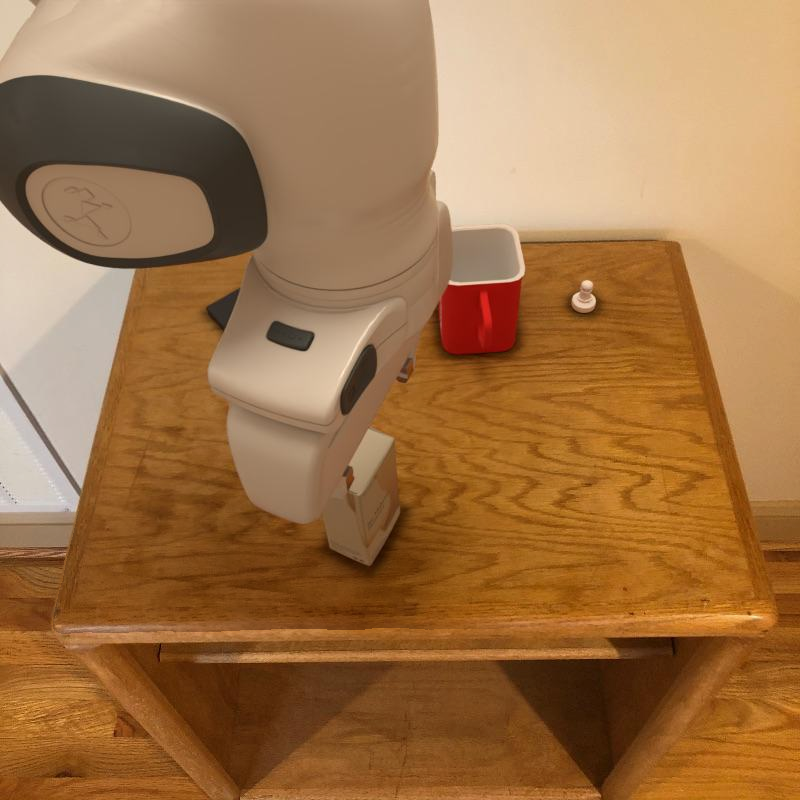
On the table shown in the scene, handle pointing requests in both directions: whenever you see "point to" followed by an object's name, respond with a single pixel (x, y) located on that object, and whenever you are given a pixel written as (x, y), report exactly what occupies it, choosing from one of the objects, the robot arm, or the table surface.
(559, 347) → the table surface
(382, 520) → the cosmetic box
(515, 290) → the mug
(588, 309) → the chess pawn
